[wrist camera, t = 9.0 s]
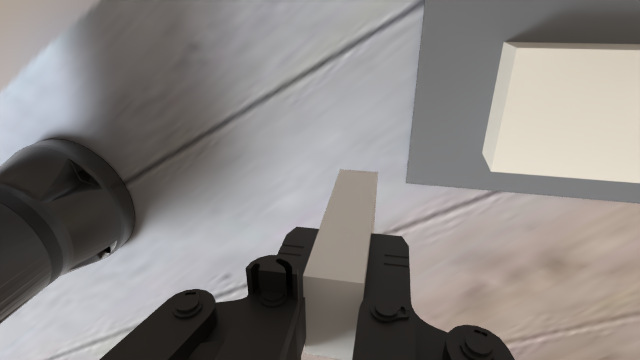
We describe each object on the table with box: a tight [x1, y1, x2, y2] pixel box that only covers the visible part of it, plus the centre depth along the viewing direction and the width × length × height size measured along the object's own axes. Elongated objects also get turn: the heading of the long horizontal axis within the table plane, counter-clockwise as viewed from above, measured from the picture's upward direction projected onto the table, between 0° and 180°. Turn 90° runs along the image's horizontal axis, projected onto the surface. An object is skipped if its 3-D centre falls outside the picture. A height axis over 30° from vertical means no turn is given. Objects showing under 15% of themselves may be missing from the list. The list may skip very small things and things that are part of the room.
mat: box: [406, 0, 640, 203], centre depth 30 cm, size 22×16×1 cm
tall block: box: [482, 42, 640, 183], centre depth 28 cm, size 4×9×12 cm
